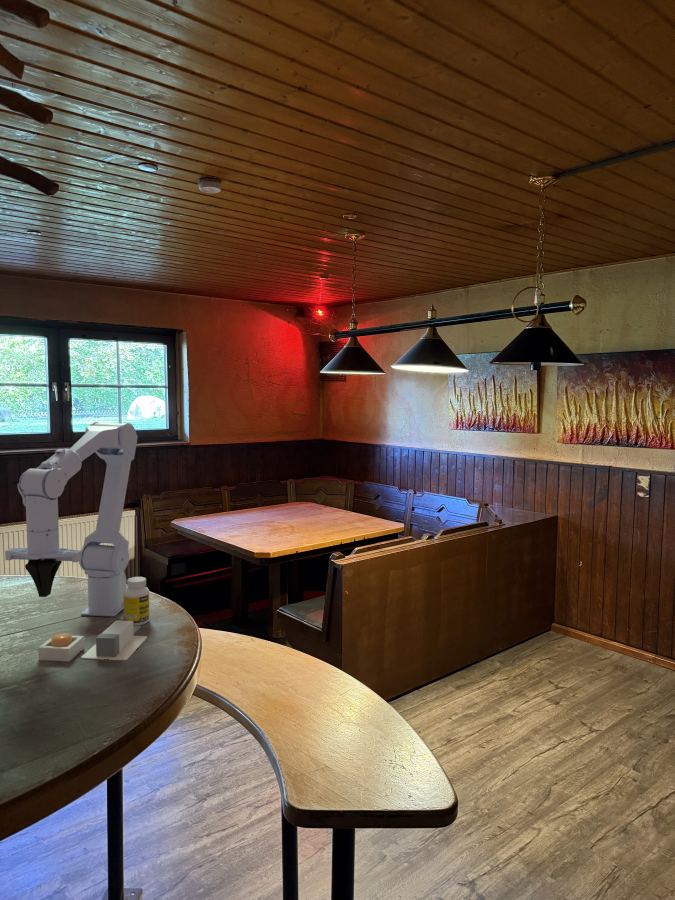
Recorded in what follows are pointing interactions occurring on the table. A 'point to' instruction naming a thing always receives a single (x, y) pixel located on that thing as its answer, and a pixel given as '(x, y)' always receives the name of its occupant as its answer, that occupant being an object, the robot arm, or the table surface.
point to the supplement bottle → (136, 601)
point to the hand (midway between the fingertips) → (44, 595)
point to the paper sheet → (122, 655)
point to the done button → (62, 640)
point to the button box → (61, 650)
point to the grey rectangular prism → (114, 638)
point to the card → (135, 628)
